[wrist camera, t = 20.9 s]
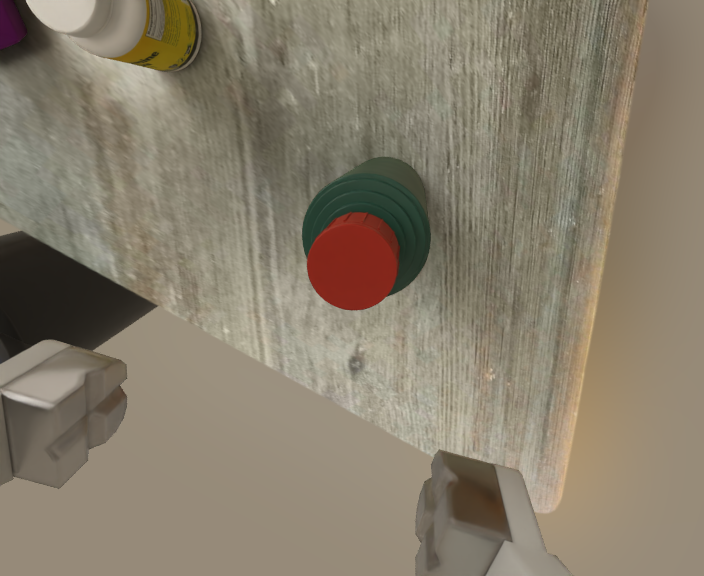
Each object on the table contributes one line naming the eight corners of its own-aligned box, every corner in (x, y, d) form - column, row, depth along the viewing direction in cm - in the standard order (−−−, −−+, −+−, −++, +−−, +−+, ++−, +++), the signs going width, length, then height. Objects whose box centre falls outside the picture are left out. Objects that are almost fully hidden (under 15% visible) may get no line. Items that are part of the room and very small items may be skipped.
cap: (379, 301, 21) (374, 324, 18) (308, 270, 21) (293, 289, 18) (413, 232, 19) (413, 247, 17) (337, 197, 19) (325, 207, 17)
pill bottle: (133, 66, 34) (11, 38, 24) (131, -23, 32) (-5, -96, 21) (203, 79, 34) (110, 57, 23) (206, -9, 31) (105, -78, 21)
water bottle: (403, 251, 36) (392, 359, 19) (331, 219, 36) (256, 299, 19) (439, 177, 34) (464, 226, 17) (362, 142, 34) (306, 155, 16)
